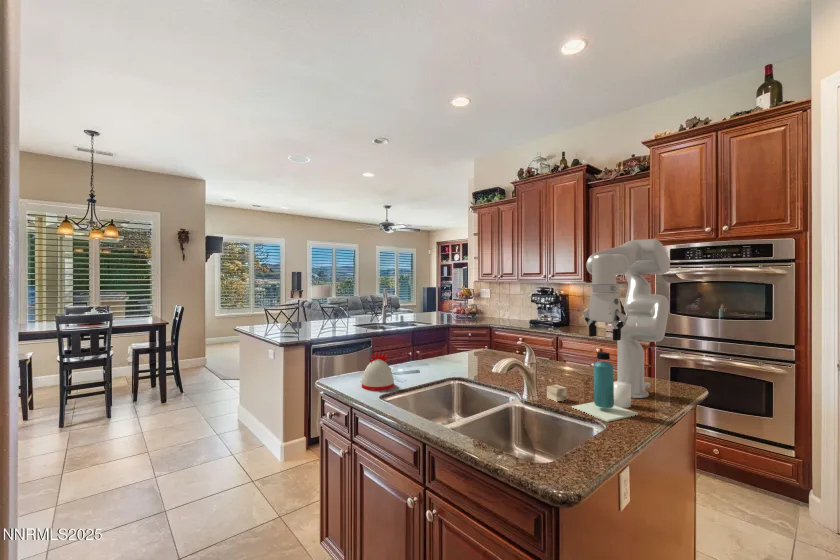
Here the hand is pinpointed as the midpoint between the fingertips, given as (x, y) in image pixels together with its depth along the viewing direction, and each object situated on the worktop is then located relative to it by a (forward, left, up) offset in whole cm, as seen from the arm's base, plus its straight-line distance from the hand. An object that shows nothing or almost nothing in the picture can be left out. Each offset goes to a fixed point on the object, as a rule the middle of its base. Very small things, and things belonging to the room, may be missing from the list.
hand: (604, 338), depth 135 cm
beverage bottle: (0, 0, -25) cm, 25 cm away
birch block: (+5, -17, -26) cm, 31 cm away
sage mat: (0, 0, -26) cm, 26 cm away
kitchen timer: (+61, -64, -26) cm, 92 cm away
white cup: (-12, -2, -26) cm, 28 cm away
